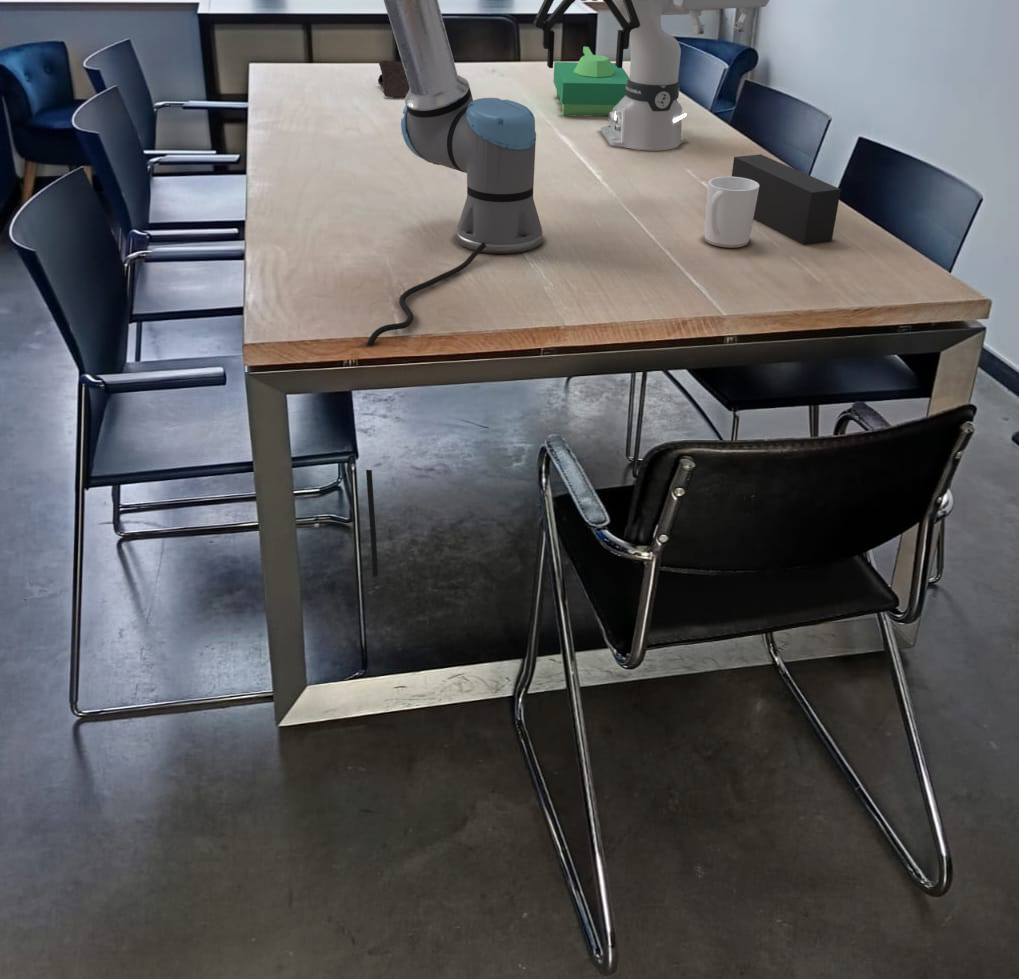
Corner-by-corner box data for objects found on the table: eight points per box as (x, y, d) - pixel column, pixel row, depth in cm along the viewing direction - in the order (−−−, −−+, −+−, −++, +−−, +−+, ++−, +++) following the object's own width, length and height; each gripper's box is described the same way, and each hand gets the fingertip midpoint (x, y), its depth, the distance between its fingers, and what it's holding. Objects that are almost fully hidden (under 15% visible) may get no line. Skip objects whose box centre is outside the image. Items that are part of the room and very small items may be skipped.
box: (831, 241, 199) (841, 189, 194) (803, 244, 197) (812, 192, 192) (754, 202, 219) (761, 154, 214) (727, 205, 217) (733, 156, 212)
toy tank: (616, 43, 300) (635, 68, 271) (613, 90, 307) (630, 119, 277) (552, 42, 300) (564, 66, 270) (550, 88, 306) (561, 118, 276)
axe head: (443, 87, 294) (392, 77, 287) (436, 115, 299) (385, 106, 292) (421, 62, 307) (371, 52, 300) (414, 89, 311) (365, 80, 304)
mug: (717, 229, 203) (724, 173, 198) (760, 239, 198) (768, 183, 193) (686, 243, 196) (692, 186, 190) (730, 255, 191) (737, 196, 186)
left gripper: (652, -56, 206) (642, 63, 217) (521, -58, 203) (518, 63, 214) (662, -52, 200) (651, 70, 211) (527, -54, 197) (523, 70, 208)
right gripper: (763, -47, 217) (753, 28, 224) (673, -45, 210) (666, 32, 217) (781, -44, 212) (771, 33, 219) (690, -41, 205) (682, 37, 212)
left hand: (584, 67), depth 213 cm, fingers open, 13 cm apart
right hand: (718, 32), depth 218 cm, fingers open, 8 cm apart
